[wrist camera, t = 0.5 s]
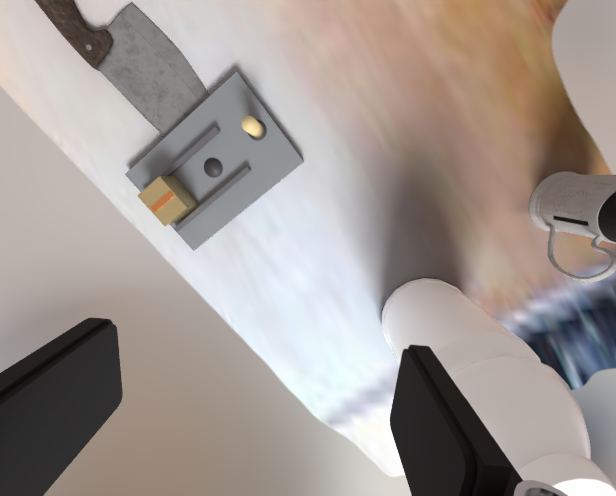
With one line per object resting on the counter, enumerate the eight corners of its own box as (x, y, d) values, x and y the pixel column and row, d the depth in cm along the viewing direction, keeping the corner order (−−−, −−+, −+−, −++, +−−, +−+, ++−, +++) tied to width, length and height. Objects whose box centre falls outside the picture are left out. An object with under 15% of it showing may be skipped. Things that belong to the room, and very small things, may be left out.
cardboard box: (154, 193, 40) (136, 195, 36) (174, 175, 40) (158, 176, 36) (178, 221, 41) (164, 226, 37) (198, 204, 41) (186, 207, 37)
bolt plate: (131, 174, 41) (99, 174, 35) (239, 75, 38) (225, 55, 32) (197, 248, 44) (178, 260, 38) (303, 161, 41) (302, 159, 34)
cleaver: (4, -23, 36) (-14, -34, 34) (47, -91, 34) (31, -108, 32) (185, 154, 41) (178, 153, 39) (230, 103, 40) (225, 99, 37)
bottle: (446, 361, 49) (613, 597, 22) (368, 342, 48) (441, 562, 21) (479, 287, 45) (728, 458, 18) (396, 266, 44) (527, 411, 17)
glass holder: (603, 197, 41) (760, 211, 27) (526, 269, 44) (630, 316, 30) (564, 158, 40) (707, 149, 26) (488, 234, 43) (577, 266, 28)
